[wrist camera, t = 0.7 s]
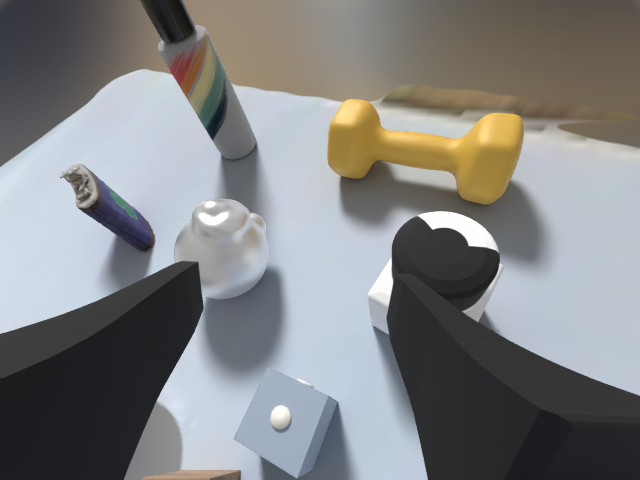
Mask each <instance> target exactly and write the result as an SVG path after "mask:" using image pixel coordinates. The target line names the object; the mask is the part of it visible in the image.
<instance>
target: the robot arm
mask: <svg viewBox="0 0 640 480" xmlns="http://www.w3.org/2000/svg"><path fill="white" fill-rule="evenodd" d="M202 311H203V299H202V290H201V281H200V271H199V262H193V261H180V262H177V263H175V264H173V265H170V266H168V267H166V268H164V269H162V270H160V271H158V272H156V273H154V274H152V275H150V276H148V277H146V278H144V279H142V280H140V281H138V282H136V283H134V284H132V285H130V286H128V287H126V288H124V289H122V290H120V291H117V292H115V293H113V294H111V295H109V296H107V297H105V298H102V299H100V300H98V301H95V302H93V303H91V304H88V305H86V306H83V307H81V308H78V309H75V310H73V311H70V312H67V313H65V314H62V315H59V316H56V317H54V318H50V319H47V320H44V321H41V322H38V323H35V324H32V325H28V326H25V327H22V328H19V329H16V330H13V331H9V332H6V333H2V334H0V480H124V477H125V475H126V472H127V469H128V467H129V464H130V462H131V459H132V457H133V454H134V452H135V450H136V447H137V445H138V442H139V440H140V437H141V435H142V433H143V430H144V428H145V426H146V423H147V421H148V419H149V417H150V414H151V412H152V410H153V408H154V405H155V403H156V401H157V399H158V397H159V395H160V393H161V391H162V389H163V387H164V385H165V383H166V382H167V380H168V378H169V376H170V375H171V373H172V371H173V369H174V368H175V366H176V364H177V362H178V361H179V359H180V357H181V355H182V353H183V352H184V350H185V348H186V346H187V344H188V343H189V341H190V339H191V337H192V335H193V333H194V332H195V329H196V327H197V324H198V322H199V319H200V316H201V314H202ZM386 319H387V325H388V331H389V336H390V341H391V344H392V348H393V351H394V354H395V357H396V360H397V363H398V366H399V369H400V372H401V375H402V378H403V381H404V383H405V386H406V389H407V392H408V395H409V398H410V402H411V405H412V409H413V412H414V417H415V421H416V425H417V430H418V434H419V438H420V443H421V448H422V453H423V457H424V462H425V467H426V472H427V477H428V480H640V396H638V395H636V394H633V393H630V392H627V391H625V390H622V389H619V388H616V387H613V386H611V385H608V384H605V383H602V382H599V381H597V380H594V379H592V378H589V377H587V376H584V375H582V374H580V373H577V372H575V371H572V370H570V369H567V368H565V367H563V366H560V365H558V364H556V363H554V362H552V361H549V360H547V359H545V358H543V357H541V356H539V355H537V354H535V353H533V352H531V351H528V350H526V349H524V348H522V347H520V346H518V345H517V344H515V343H513V342H511V341H509V340H507V339H505V338H504V337H502V336H500V335H498V334H497V333H495V332H493V331H492V330H490V329H488V328H486V327H485V326H483V325H482V324H480V323H478V322H477V321H475V320H474V319H472V318H471V317H469V316H468V315H466V314H465V313H463V312H462V311H461V310H459V309H458V308H456V307H455V306H454V305H452V304H451V303H450V302H448V301H447V300H445V299H444V298H443V297H442V296H440V295H439V294H438V293H436V292H435V291H434V290H432V289H431V288H430V287H429V286H427V285H426V284H425V283H423V282H422V281H421V280H419V279H418V278H417V277H415V276H414V275H412V274H399V273H395V276H394V281H393V286H392V291H391V296H390V302H389V307H388V312H387V317H386Z"/></svg>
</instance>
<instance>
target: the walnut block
mask: <svg viewBox="0 0 640 480" xmlns="http://www.w3.org/2000/svg"><path fill="white" fill-rule="evenodd" d="M240 471H241V470H181V471H176V472H171V473H166V474H160V475H155V476H149V477H144V478H141V480H240Z"/></svg>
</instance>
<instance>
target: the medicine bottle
mask: <svg viewBox="0 0 640 480" xmlns="http://www.w3.org/2000/svg"><path fill="white" fill-rule="evenodd" d="M502 271H503V266H502V265H501V264H500V257H499V251H498V247H497V245H496V243H495V241H494V239H493V238H492V236H491V235H490V233H489V232H488V231H487V230H486V229H485V228H484V227H483V226H481V225H480V224H479V223H477V222H476V221H474V220H472V219H470V218H468V217H466V216H463V215H460V214H457V213H452V212H443V211H439V212H429V213H425V214H421V215H418V216H416V217H414V218H412V219H410V220H409V221H408V222H406V223H405V224H404V225H403V226H402V227H401V228H400V229H399V231H398V232H397V234H396V235H395V238H394V240H393V244H392V257H391V259H390V261H389V262H388V264H387V265H386V267H385V268H384V270H383V271H382V273H381V274H380V276H379V277H378V279H377V281H376V282H375V284H374V285H373V287H372V288H371V290H370V291H369V293H368V295H367V297H368V303H369V310H370V316H371V322H372V325H373V326H375V327H377V328H378V329H380V330H382V331H383V332H385V333H386V334H388V335H389V331H388V325H387V319H386V317H387V312H388V307H389V302H390V296H391V291H392V286H393V281H394V276H395V273H399V274H412V275H414V276H415V277H417V278H418V279H419V280H421V281H422V282H423V283H425V284H426V285H427V286H429V287H430V288H431V289H432V290H434V291H435V292H436V293H438V294H439V295H440V296H442V297H443V298H444V299H445V300H447V301H448V302H450V303H451V304H452V305H454V306H455V307H456V308H458V309H459V310H461V311H462V312H463V313H465V314H466V315H468V316H469V317H471V318H472V319H474V320H475V321H477V322H479V320H480V317H481V315H482V313H483V311H484V309H485V307H486V305H487V303H488V301H489V299H490V296H491V294H492V292H493V290H494V288H495V286H496V284H497V282H498V280H499V278H500V276H501V273H502Z"/></svg>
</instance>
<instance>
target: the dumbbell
mask: <svg viewBox="0 0 640 480" xmlns="http://www.w3.org/2000/svg"><path fill="white" fill-rule="evenodd" d="M523 136H524V126H523V121H522V119H521V117H519V116H518V115H515V114H506V113H491V114H488V115H486V116H484V117H483V118H482V119H480V120H479V121H478V122H477V123H476V124H475V126H474V127H473V128H472V129H471V131H470V132H469V133H468V134H467V135H465V136H464V137H462V138H459V139H451V138H446V137H442V136H438V135H431V134H424V133H417V132H408V131H389V130H385V129H384V128H382V127H381V123H380V118H379V115H378V113H377V111H376V109H375V108H374V107H373V105H372V104H371V103H369V102H368V101H364V100H358V99H348V100H346V101H345V102H344V103H343V104H342V105H341V106H340V108H339V109H338V111H337V113H336V114H335V116H334V118H333V119H332V121H331V124H330V127H329V133H328V153H327V158H328V164H329V166H330V168H331V169H332V170H333V171H334V172H336V173H337V174H338V175H340V176H343V177H348V178H353V179H360V178H362V177H364V176H365V175H366V174H367V173H368V171H369V170H370V168H371V166H372V164H373V163H374V162H375V161H378V160H383V161H387V162H390V163H394V164H399V165H404V166H410V167H416V168H422V169H429V170H442V171H448V172H450V173H452V174H453V175H454V177H455V179H456V185H457V191H458V193H459V195H460V197H461V198H463V199H464V200H467V201H470V202H474V203H479V204H486V205H488V204H492V203H494V202H495V201H497V200H498V199H499V198H500V197H501V196H502V195H503V193H504V192H505V190H506V188H507V186H508V184H509V182H510V180H511V177H512V175H513V173H514V170H515V168H516V165H517V162H518V159H519V156H520V153H521V148H522V143H523Z"/></svg>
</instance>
